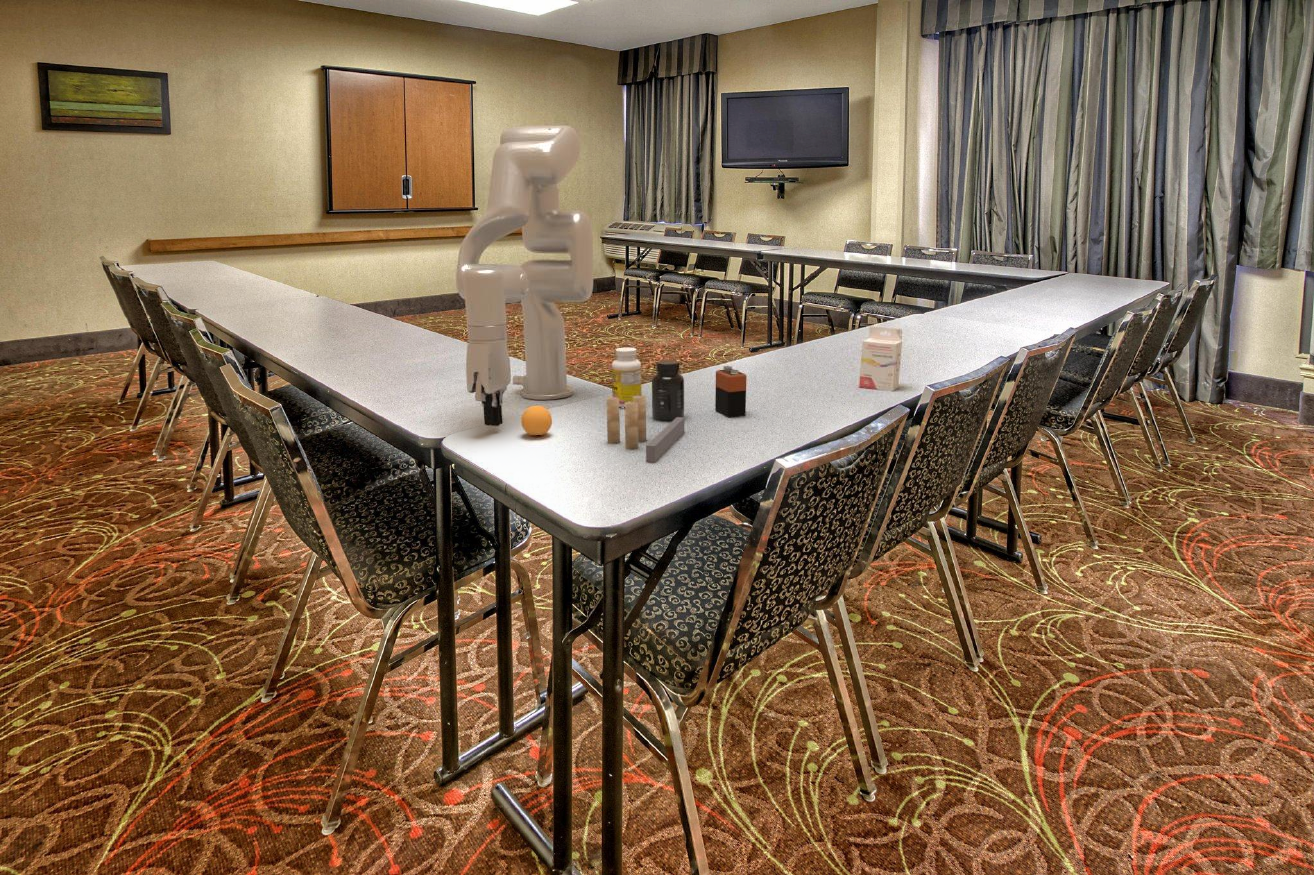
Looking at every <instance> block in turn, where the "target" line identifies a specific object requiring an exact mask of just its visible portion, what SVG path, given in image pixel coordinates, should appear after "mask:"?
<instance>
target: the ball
mask: <svg viewBox="0 0 1314 875" xmlns="http://www.w3.org/2000/svg"><path fill="white" fill-rule="evenodd" d="M520 423H521V427H522V429H523V430H524V432H526V433H527V434H528V435H531V436H532V435H541V436H543V434H544V435H546V434H547V433H548V432H549V431H550V429H551V428H552V424H553V417H552V414H551V413H550V411H549V410H548V409H547V408H546V407H544V406H542V405H532V406H529V407H528V408H527V409H525V410H524V412H523V413H522V415H521V422H520Z"/></svg>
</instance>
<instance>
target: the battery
mask: <svg viewBox="0 0 1314 875" xmlns="http://www.w3.org/2000/svg"><path fill="white" fill-rule="evenodd" d="M722 367H723V369H719V370H718V369H717V370H716V371H715V393H714V394H715V398H714V399H715V402H714V404H715V407H714V409H715V411H716V412H717V413H720V414H722V415H723V416H724V417H727V418H737V417H744V416H746V414H747V413H746V412H747V405H746V403H747V374H745V373H743V372H741V371H739V369H734V368H733V366H732V365H724V366H722Z"/></svg>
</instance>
